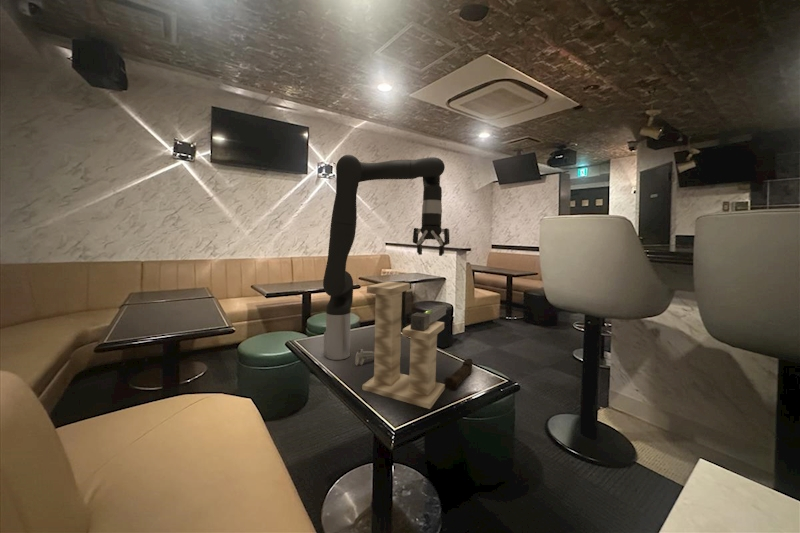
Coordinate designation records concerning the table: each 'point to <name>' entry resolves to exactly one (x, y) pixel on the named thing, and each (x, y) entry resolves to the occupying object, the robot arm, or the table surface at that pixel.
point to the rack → (387, 351)
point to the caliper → (363, 356)
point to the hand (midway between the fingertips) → (430, 255)
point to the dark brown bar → (459, 375)
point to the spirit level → (427, 318)
